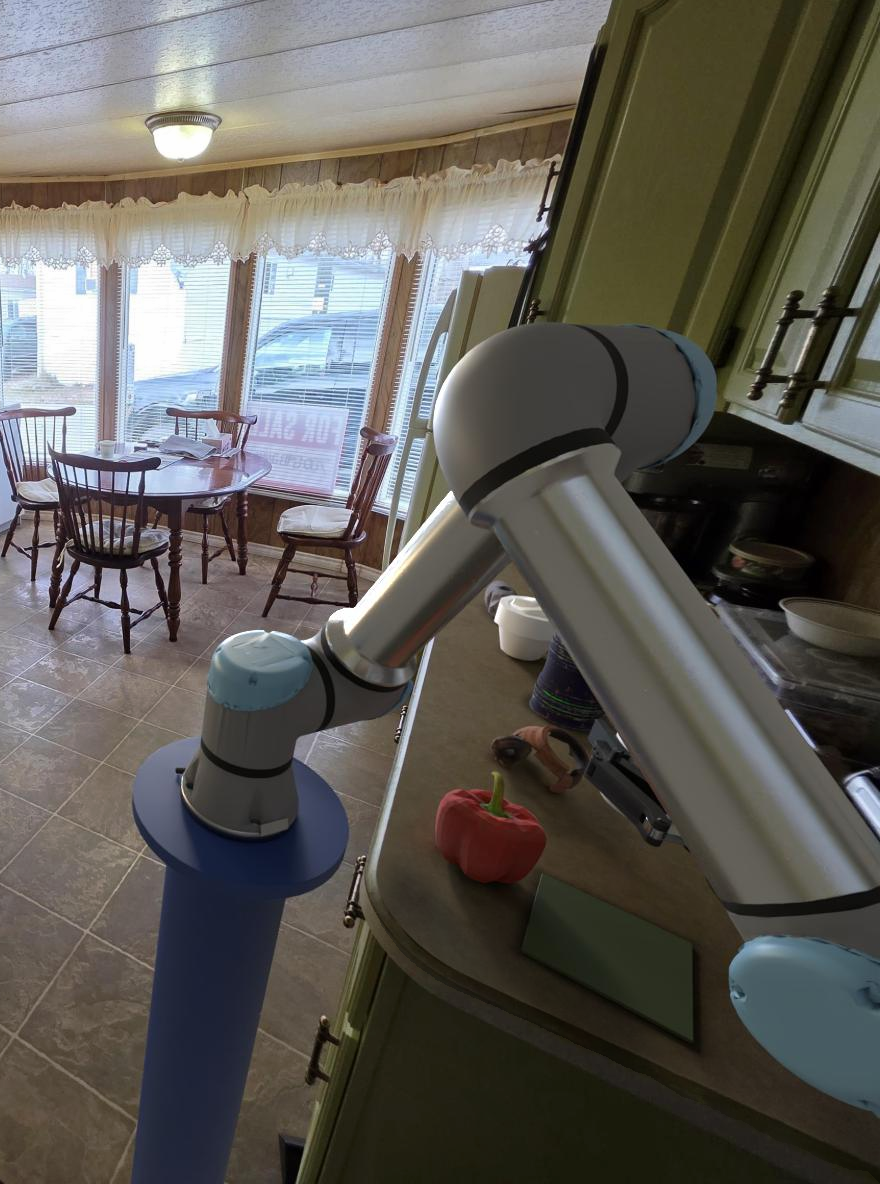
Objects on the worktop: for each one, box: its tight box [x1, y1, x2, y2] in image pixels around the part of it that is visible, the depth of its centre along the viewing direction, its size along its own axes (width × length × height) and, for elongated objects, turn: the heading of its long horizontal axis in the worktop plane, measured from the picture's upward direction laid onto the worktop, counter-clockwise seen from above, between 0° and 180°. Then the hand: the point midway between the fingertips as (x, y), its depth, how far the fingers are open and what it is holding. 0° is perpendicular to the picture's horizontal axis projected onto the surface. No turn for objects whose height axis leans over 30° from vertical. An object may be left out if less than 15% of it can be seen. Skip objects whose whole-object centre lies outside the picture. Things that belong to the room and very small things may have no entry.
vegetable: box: [435, 771, 548, 884], centre depth 73 cm, size 11×10×10 cm
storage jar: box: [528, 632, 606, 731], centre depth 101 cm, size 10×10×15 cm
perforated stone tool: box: [484, 580, 519, 620], centre depth 138 cm, size 15×5×7 cm, turn 156°
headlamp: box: [490, 724, 590, 794], centre depth 89 cm, size 12×10×8 cm
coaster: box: [520, 872, 694, 1045], centre depth 65 cm, size 13×13×1 cm
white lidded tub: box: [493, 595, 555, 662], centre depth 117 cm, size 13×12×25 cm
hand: (653, 740), depth 69 cm, fingers closed on cup, 10 cm apart
